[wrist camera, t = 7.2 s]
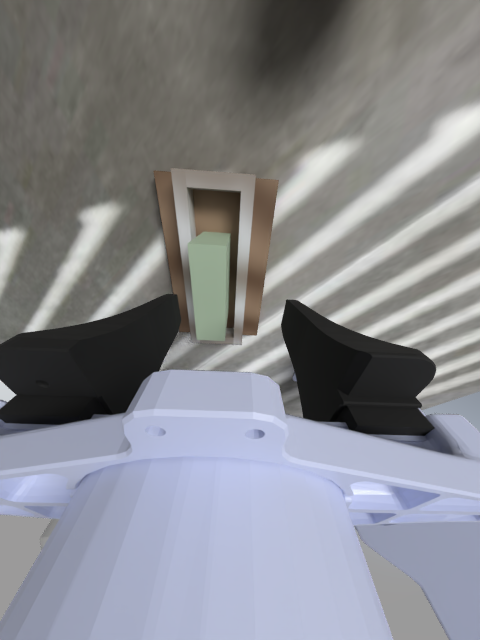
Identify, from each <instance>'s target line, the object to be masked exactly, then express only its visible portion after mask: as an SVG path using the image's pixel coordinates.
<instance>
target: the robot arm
mask: <svg viewBox="0 0 480 640" xmlns="http://www.w3.org/2000/svg"><path fill="white" fill-rule="evenodd" d="M180 324H181V315H180V309H179V302H178V296H177V294H166V295H163V296H161V297H158V298H156V299H154V300H152V301H150V302H147V303H145V304H143V305H141V306H138V307H136V308H134V309H131V310H129V311H126V312H123V313H121V314H118V315H114V316H111V317H108V318H104V319H100V320H96V321H93V322H89V323H84V324H79V325H75V326H69V327H63V328H57V329H50V330H43V331H35V332H27V333H21V334H18V335H16V336H14V337H12V338H11V339H9V340H7V341H5V342H4V343H2V344H0V380H1V381H2V382H3V383H4V384H5V385H7V387H9V388H10V389H11V390H12V391H13V392H14V393H15V394H16V396H15V397H14V398H13V399H11V400H10V401H9V402H6V401H3V400H0V515H12V516H24V517H37V518H49V519H59V521H58V523H57V524H56V526H55V528H54V529H53V531H52V533H51V535H50V536H49V538H48V540H47V542H46V543H45V545H44V547H43V548H42V550H41V552H40V554H39V556H38V557H37V559H36V561H35V562H34V564H33V566H32V567H31V569H30V571H29V573H28V574H27V576H26V578H25V580H24V581H23V583H22V585H21V586H20V588H19V590H18V592H17V593H16V595H15V597H14V599H13V600H12V602H11V604H10V606H9V607H8V609H7V611H6V612H5V614H4V616H3V617H2V619H1V621H0V640H393V637H392V634H391V632H390V629H389V626H388V623H387V620H386V617H385V615H384V611H383V609H382V606H381V603H380V600H379V597H378V594H377V591H376V589H375V586H374V583H373V580H372V577H371V575H370V571H369V569H368V566H367V563H366V560H365V557H364V554H363V551H362V549H361V546H360V543H359V540H358V537H357V534H356V532H355V529H356V530H357V531H358V533H359V536H360V538H361V540H362V541H363V542H364V543H365V544H366V545H368V546H369V547H370V548H371V549H373V550H374V551H375V552H377V553H378V554H379V555H381V556H382V557H383V558H385V559H386V560H388V561H389V562H390V563H392V564H393V565H394V566H396V567H397V568H398V569H400V570H401V571H402V572H404V573H405V574H407V575H408V576H409V577H410V578H412V579H413V580H414V581H415V582H416V583H417V584H418V585H419V586H420V587H421V588H422V590H423V592H424V594H425V596H426V598H427V600H428V601H429V603H430V605H431V607H432V609H433V611H434V613H435V614H436V616H437V618H438V620H439V622H440V624H441V626H442V628H443V629H444V631H445V633H446V635H447V637H448V638H449V640H480V432H479V431H478V430H477V429H476V428H475V427H474V426H473V425H471V424H470V422H468V421H467V420H466V419H465V418H464V417H463V416H462V415H458V414H430V415H427V416H426V415H425V414H424V413H423V412H422V411H421V410H420V408H421V407H422V404H421V403H420V402H419V401H418V400H417V398H416V396H417V395H418V394H419V393H420V392H421V391H422V390H423V389H424V388H425V387H426V386H427V385H428V384H429V383H430V382H431V380H432V379H433V378H434V375H435V373H436V365H435V364H434V363H433V361H432V360H431V359H429V358H428V357H427V356H426V355H424V354H423V353H422V352H421V351H419V350H417V349H413V348H409V347H405V346H401V345H396V344H392V343H388V342H385V341H381V340H378V339H375V338H371V337H368V336H365V335H363V334H360V333H357V332H354V331H352V330H349V329H347V328H345V327H343V326H340V325H338V324H336V323H334V322H332V321H330V320H328V319H327V318H325V317H323V316H321V315H320V314H318V313H316V312H315V311H313V310H312V309H310V308H309V307H307V306H305V305H304V304H302V303H301V302H299V301H297V300H286V305H285V309H284V314H283V319H282V323H281V327H282V333H283V338H284V341H285V344H286V347H287V349H288V352H289V355H290V358H291V361H292V364H293V367H294V371H295V373H294V376H293V381H296V382H297V384H298V389H299V394H300V400H301V406H302V412H303V418H301V417H297V416H293V415H289V414H285V411H284V406H283V401H282V397H281V392H280V387H279V385H278V384H277V383H276V382H274V381H273V380H272V379H271V378H269V377H268V376H265V375H260V374H256V373H251V372H229V371H203V370H177V369H172V370H165V371H159V370H160V367H161V365H162V362H163V360H164V358H165V356H166V354H167V352H168V350H169V348H170V347H171V345H172V343H173V341H174V339H175V337H176V335H177V333H178V330H179V327H180ZM354 527H355V529H354Z"/></svg>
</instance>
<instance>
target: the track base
mask: <svg viewBox="0 0 480 640" xmlns="http://www.w3.org/2000/svg"><path fill="white" fill-rule="evenodd" d="M154 177H155V183H156V189H157V195H158V201H159V208H160V214H161V220H162V226H163V232H164V238H165V245H166V251H167V257H168V263H169V269H170V275H171V282H172V288H173V294H177V296H178V302H179V309H180V315H181V324H180V327H179V331H180V332H190V333H191V342H192V343H211V344H232V345H242V335H257V330H258V323H259V315H260V308H261V301H262V294H263V287H264V280H265V273H266V266H267V259H268V252H269V245H270V238H271V231H272V224H273V217H274V210H275V203H276V195H277V188H278V181H279V180H270V179H257V178H256V175H253V174H240V173H227V172H214V171H201V170H188V169H175V168H171V172H165V171H154ZM202 232H219V233H231V240H230V276H229V309H228V318H227V327H226V336H225V341H213V340H197V337H196V326H195V316H194V306H193V296H192V285H191V275H190V265H189V255H188V244H187V243H189V242H190V241H191V240H193V239H194V238H196V237H197V236H198V235H200V234H201V233H202Z"/></svg>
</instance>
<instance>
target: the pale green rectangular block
mask: <svg viewBox="0 0 480 640" xmlns="http://www.w3.org/2000/svg"><path fill="white" fill-rule="evenodd" d="M230 240H231V233H219V232H202V233H201V234H200V235H198V236H197V237H196V238H194V239H193V240H191V241H190V242H189V243H187V244H188V255H189V265H190V275H191V285H192V296H193V306H194V316H195V326H196V337H197V340H213V341H225V336H226V327H227V318H228V309H229V276H230Z"/></svg>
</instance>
